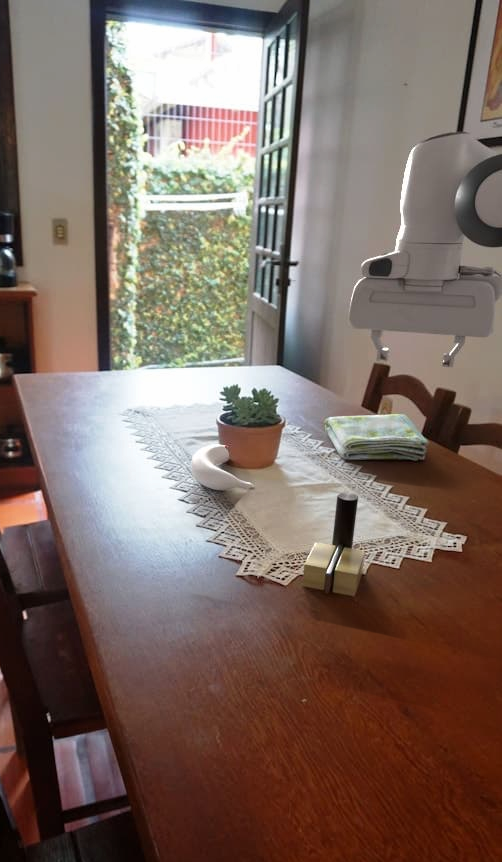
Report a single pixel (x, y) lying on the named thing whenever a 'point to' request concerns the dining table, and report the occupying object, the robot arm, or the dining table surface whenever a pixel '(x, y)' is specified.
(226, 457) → the banana
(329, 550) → the slotted cream block
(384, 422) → the towel
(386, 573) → the dining table surface
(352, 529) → the knife
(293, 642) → the dining table surface
